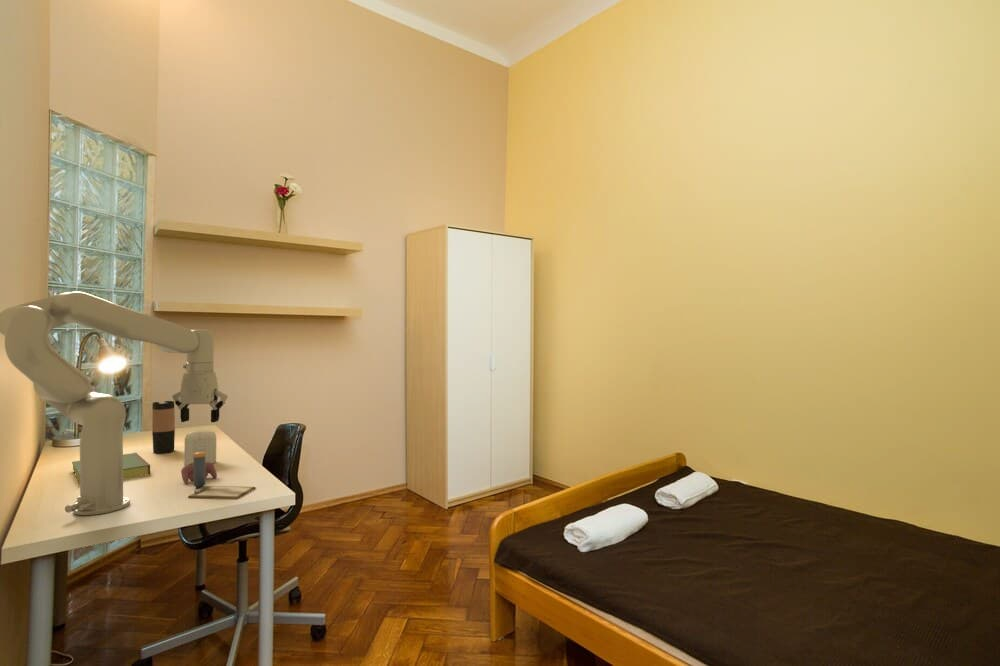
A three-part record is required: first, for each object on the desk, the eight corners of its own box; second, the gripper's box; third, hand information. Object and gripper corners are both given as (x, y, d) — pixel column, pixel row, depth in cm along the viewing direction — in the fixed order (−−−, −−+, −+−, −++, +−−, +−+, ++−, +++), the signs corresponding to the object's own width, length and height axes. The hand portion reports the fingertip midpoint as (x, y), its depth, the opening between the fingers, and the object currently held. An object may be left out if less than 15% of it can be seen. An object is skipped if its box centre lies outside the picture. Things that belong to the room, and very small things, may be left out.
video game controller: (214, 481, 176) (211, 460, 178) (218, 477, 173) (215, 456, 176) (181, 487, 169) (178, 466, 172) (184, 483, 166) (181, 462, 169)
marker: (201, 490, 161) (201, 454, 161) (190, 489, 162) (190, 454, 161) (208, 486, 165) (208, 451, 165) (197, 486, 165) (197, 451, 165)
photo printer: (217, 461, 196) (216, 428, 196) (215, 463, 192) (215, 430, 192) (185, 463, 192) (185, 430, 192) (183, 466, 188) (183, 432, 188)
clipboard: (237, 499, 153) (237, 494, 153) (188, 497, 154) (188, 493, 154) (255, 488, 163) (255, 484, 163) (209, 487, 164) (209, 483, 164)
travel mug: (167, 453, 207) (166, 403, 207) (147, 453, 207) (147, 403, 207) (179, 449, 215) (178, 400, 215) (160, 449, 215) (160, 400, 215)
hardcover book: (150, 475, 179) (150, 464, 179) (80, 487, 166) (80, 475, 166) (136, 462, 197) (135, 452, 197) (71, 472, 184) (71, 461, 184)
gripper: (165, 368, 164) (165, 423, 164) (220, 369, 163) (219, 423, 163) (181, 367, 171) (181, 419, 171) (233, 367, 171) (232, 419, 171)
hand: (199, 421), depth 167 cm, fingers open, 9 cm apart
